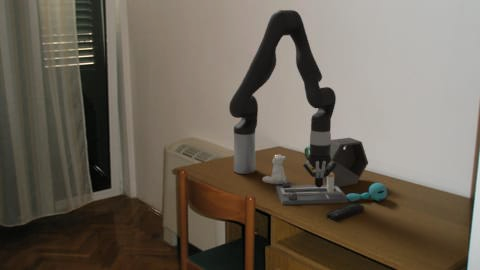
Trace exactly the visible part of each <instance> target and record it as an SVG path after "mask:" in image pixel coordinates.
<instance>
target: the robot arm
mask: <svg viewBox="0 0 480 270" xmlns="http://www.w3.org/2000/svg"><path fill="white" fill-rule="evenodd" d="M284 36H289V37H290V38H291V39H292V41H293V43H294V46H295V64H296V69H297V70H298V73H299V75H300V77H301V79H302V81H303V86H304V90H305V91H304V92H305V97H306V100H307V102H308V104H309V105H310V106H311V107H312V108H313V109H317V111H316V112H315V113H313V114H312V115H311V120H310V121H311V122H310V135H309V146H310V150H309V158H308V160H307V161H305V162H304V161H303V162H302V166H303V168H304V169H305V170H306V171H307V172H308V174H309V175H310V176H311V177H312V178H314V185H316V186H317V188H320V187H321V186H323V185H324V177H325V176H328V175H329V174H330V173H331V172H332V170H333V169H334V168H335V167H336V165H337V164H336V163H335V162H333V161H332V160H331V157H330V145H331V140H332V137H331V136H332V135H331V134H332V133H331V128H332V126H331V123H332V122H331V119H332V117H333V113H334V110H335V106H336V103H337V100H336V99H337V98H336V92H335V91H334V89H332V87H328V86H325V87H320V84H319V83H320V82H321V81H322V79H323V75H322V73H321V70H320V68H319V65H318V64H317V61H316V59H315V58H314V55H313V52H312V50H311V46H310V42H309V39H308V34H307V33H306V29H305V25H304V22H303V19H302V16H301V15H300V13H299V12H298V11H296V10H293V9H279V10H276V11H274V12H273V14H272V15H271V16H270V18H269V21H268V22H267V26H266V28H265V32H264V35H263V38H262V39H261V41H260V44H259V46H258V49H257V51H256V53H255V55H254V56H253V59H252V61H251V63H250V65H249V67H248V70H247V72H246V74H245V76H244V77H243V80H242V81H241V83H240V84H239V87H238V89H237V90H236V91H235V93H234V94H233V96H232V98H230V99H231V100H230V102H229V105H228V106H229V107H228V109H229V113H230V116H231V117H234V118H237V119H240V121H239V122H237V123H236V124H235V125H234V127H233V172H235V173H237V174H242V175H247V174H252V173H255V172H256V129H257V125H258V113H259V105H258V104H259V103H258V101H257V98H256V97H255V96H254V94H255V93H256V92H257V91H258V90H260V88H261V87H264V85H265V84H266V83H267V82H268V81H269V79H270V78H271V76H272V74H273V73H274V70H275V69H276V66H277V53H276V52H277V47H278V45H279V43H280V41H281V39H282V37H284ZM328 164H329V167H328V168H327V169H326V170H325V168H326V167H327V165H328ZM311 166H312V168H313V171H314V172H313V171H312V169H311V168H310V167H311Z"/></svg>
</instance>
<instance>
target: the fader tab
mask: <svg viewBox="0 0 480 270" xmlns="http://www.w3.org/2000/svg"><path fill="white" fill-rule="evenodd" d="M334 177H335V175H334V174H333V172H331V173H330V174H329V175H328V176H327V182H326V185H327V186H326V189H327V191H334Z"/></svg>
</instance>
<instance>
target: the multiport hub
mask: <svg viewBox="0 0 480 270" xmlns="http://www.w3.org/2000/svg"><path fill="white" fill-rule="evenodd" d="M363 211H364V212H365V206H364V205H361V204H358V203H356V202H353V203H350V204H348V205H347V204H346V205H344V206H342V207H341V206H340V207H339V208H336V209H333V210H330V211H327V212H326V218H327V219H328V220H331V221H332V222H333V221H334V222H339V221H342V220H345V219H348V218H351V217H353V216H355V215H358V213H359V214H361V213H364V212H363Z"/></svg>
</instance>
